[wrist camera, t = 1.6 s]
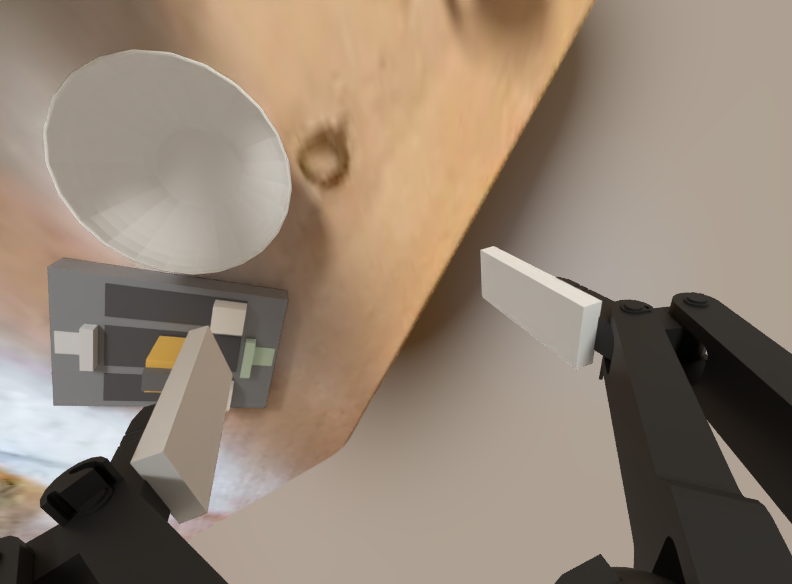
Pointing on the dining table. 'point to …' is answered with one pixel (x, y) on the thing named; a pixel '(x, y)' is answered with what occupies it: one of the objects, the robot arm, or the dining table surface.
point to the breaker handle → (160, 363)
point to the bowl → (167, 162)
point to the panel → (153, 330)
